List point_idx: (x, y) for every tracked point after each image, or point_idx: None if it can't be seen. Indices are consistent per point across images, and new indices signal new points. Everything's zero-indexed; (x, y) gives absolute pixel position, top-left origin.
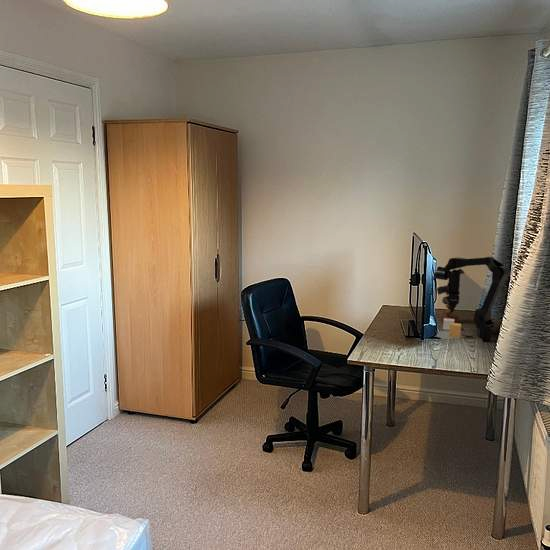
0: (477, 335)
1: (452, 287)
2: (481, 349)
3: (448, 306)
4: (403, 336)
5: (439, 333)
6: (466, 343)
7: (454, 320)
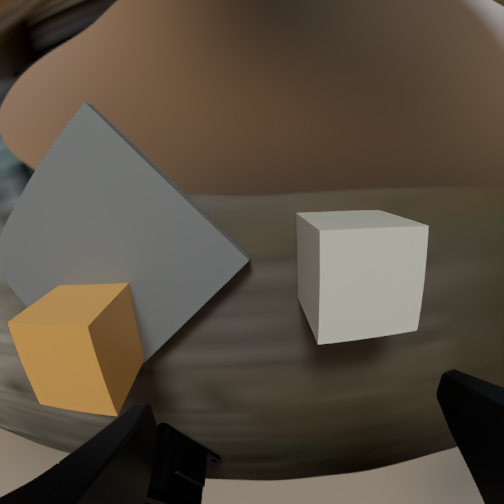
0: (173, 445)
1: None
2: (7, 412)
3: None
4: (19, 14)
5: (104, 205)
6: None
7: None
